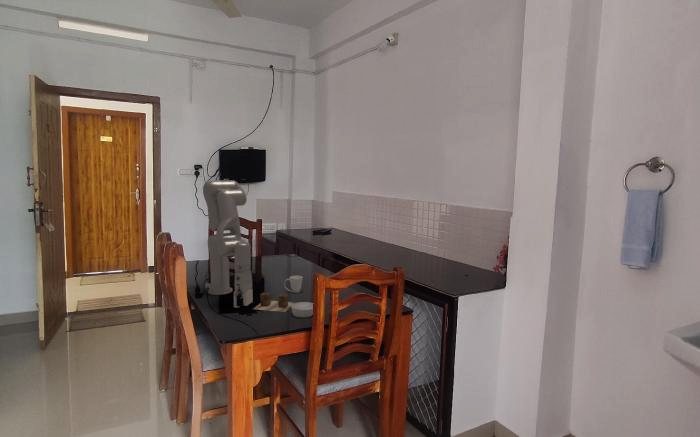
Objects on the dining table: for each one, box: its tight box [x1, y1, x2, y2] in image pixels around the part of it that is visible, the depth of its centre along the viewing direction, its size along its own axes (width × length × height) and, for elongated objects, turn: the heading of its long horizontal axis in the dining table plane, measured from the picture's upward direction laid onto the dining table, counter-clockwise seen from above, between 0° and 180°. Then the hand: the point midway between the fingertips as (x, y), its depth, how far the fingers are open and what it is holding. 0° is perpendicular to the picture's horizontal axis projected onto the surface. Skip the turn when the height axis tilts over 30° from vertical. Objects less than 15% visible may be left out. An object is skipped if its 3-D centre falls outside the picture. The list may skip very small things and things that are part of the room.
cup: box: [283, 275, 303, 294], centre depth 233 cm, size 7×10×8 cm
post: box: [277, 293, 289, 308], centre depth 204 cm, size 4×4×6 cm
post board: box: [252, 292, 296, 313], centre depth 205 cm, size 16×14×7 cm
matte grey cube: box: [233, 288, 254, 309], centre depth 209 cm, size 7×7×8 cm
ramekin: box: [290, 301, 314, 318], centre depth 195 cm, size 11×11×5 cm
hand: (243, 303), depth 209 cm, fingers closed on matte grey cube, 6 cm apart
